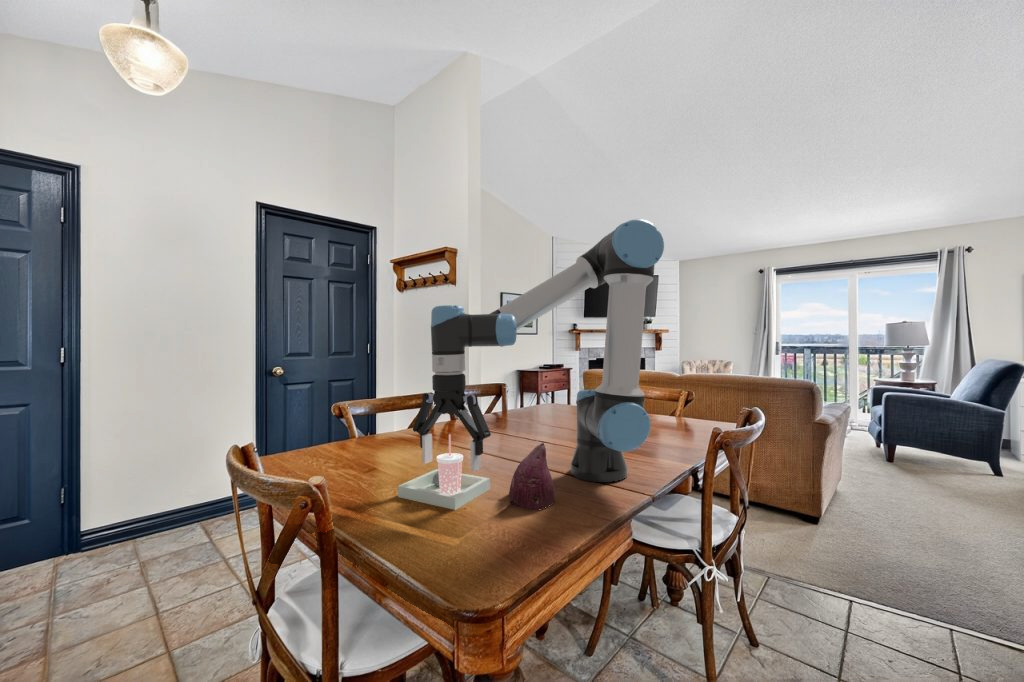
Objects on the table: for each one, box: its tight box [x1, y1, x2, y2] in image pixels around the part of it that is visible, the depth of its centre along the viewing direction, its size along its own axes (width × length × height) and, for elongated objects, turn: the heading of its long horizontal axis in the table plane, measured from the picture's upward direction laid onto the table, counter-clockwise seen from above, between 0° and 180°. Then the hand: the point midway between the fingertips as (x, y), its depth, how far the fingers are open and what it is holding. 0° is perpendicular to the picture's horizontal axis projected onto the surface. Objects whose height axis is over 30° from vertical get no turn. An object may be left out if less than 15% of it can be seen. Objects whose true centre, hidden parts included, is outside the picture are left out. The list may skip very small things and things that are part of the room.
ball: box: [433, 473, 439, 486], centre depth 101 cm, size 3×3×3 cm
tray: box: [397, 468, 491, 511], centre depth 97 cm, size 16×14×4 cm
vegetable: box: [508, 441, 555, 511], centre depth 94 cm, size 10×10×15 cm
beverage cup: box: [435, 433, 464, 495], centre depth 95 cm, size 6×6×14 cm
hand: (451, 465), depth 95 cm, fingers open, 13 cm apart
